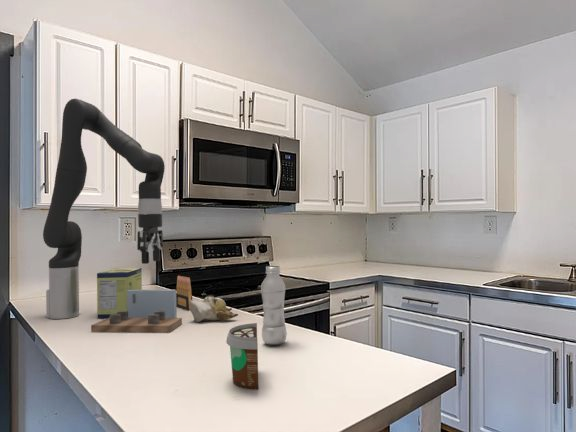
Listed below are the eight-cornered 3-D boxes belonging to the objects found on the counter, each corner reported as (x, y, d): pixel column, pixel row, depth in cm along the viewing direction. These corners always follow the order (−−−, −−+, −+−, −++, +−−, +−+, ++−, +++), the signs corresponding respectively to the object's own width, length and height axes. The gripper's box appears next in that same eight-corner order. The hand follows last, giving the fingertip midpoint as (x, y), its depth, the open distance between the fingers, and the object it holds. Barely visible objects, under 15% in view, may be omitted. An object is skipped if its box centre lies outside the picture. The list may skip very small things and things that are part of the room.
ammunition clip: (192, 310, 152) (192, 277, 152) (188, 311, 150) (187, 277, 151) (180, 306, 160) (179, 274, 160) (175, 306, 159) (175, 275, 159)
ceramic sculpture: (187, 292, 138) (232, 291, 143) (186, 318, 138) (231, 316, 143) (192, 297, 128) (239, 296, 133) (190, 326, 128) (238, 324, 133)
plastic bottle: (290, 341, 109) (288, 265, 110) (281, 348, 103) (280, 268, 103) (267, 339, 112) (266, 264, 112) (257, 346, 105) (256, 267, 105)
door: (126, 321, 136) (125, 291, 136) (130, 319, 138) (129, 289, 139) (173, 322, 134) (173, 290, 134) (176, 320, 137) (176, 289, 137)
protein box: (142, 308, 156) (142, 267, 156) (127, 318, 141) (127, 272, 141) (114, 309, 156) (114, 267, 156) (96, 319, 140) (96, 273, 140)
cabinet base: (91, 332, 123) (91, 316, 123) (109, 323, 133) (109, 309, 133) (169, 332, 120) (169, 317, 121) (181, 324, 130) (181, 309, 130)
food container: (228, 370, 89) (227, 323, 89) (257, 369, 89) (256, 322, 89) (224, 394, 76) (223, 339, 76) (258, 392, 77) (257, 338, 77)
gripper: (148, 213, 145) (149, 260, 144) (128, 212, 130) (129, 264, 130) (169, 213, 144) (170, 260, 144) (151, 212, 130) (152, 264, 129)
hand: (151, 262), depth 137 cm, fingers open, 8 cm apart
